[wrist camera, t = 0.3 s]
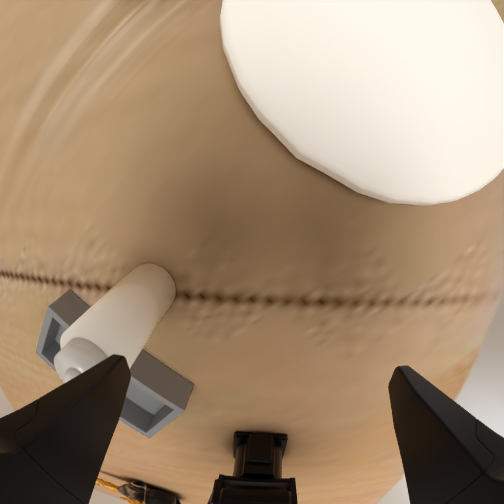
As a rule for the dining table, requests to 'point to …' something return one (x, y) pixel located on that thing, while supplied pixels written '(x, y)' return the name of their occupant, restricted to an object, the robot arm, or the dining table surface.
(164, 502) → the fried shrimp in bowl
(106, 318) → the salt mill
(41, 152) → the dining table surface
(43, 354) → the condiment caddy
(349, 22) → the plate
